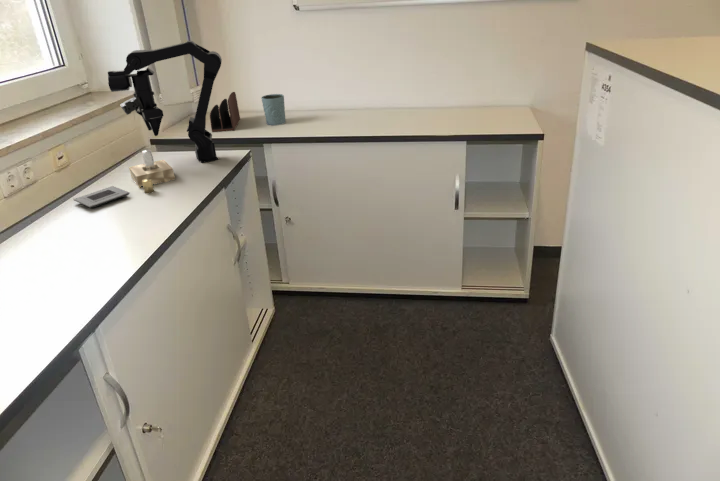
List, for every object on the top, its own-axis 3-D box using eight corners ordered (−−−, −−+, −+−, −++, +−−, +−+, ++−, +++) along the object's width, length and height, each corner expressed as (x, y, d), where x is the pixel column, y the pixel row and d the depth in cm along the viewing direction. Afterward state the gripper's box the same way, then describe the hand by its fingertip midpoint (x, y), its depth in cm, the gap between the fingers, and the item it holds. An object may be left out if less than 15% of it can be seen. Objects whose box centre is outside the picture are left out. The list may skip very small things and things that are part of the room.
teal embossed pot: (277, 126, 240) (273, 99, 234) (260, 124, 244) (256, 97, 239) (291, 121, 247) (288, 94, 242) (274, 119, 252) (271, 93, 247)
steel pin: (156, 176, 189) (149, 149, 184) (158, 178, 186) (152, 151, 182) (147, 178, 187) (140, 150, 183) (149, 180, 185) (142, 152, 181)
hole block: (166, 170, 194) (163, 159, 192) (175, 179, 185) (172, 168, 183) (131, 177, 189) (128, 167, 187) (139, 187, 180) (136, 176, 178)
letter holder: (240, 119, 255) (235, 89, 249) (234, 131, 237) (229, 98, 231) (219, 121, 255) (214, 90, 248) (211, 132, 237) (205, 100, 231)
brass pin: (153, 189, 178) (150, 177, 176) (155, 192, 176) (152, 180, 174) (143, 191, 176) (140, 180, 175) (145, 194, 174) (142, 182, 172)
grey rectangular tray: (114, 191, 179) (112, 184, 178) (131, 198, 173) (129, 191, 172) (75, 205, 170) (73, 198, 169) (91, 212, 164) (89, 205, 163)
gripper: (113, 88, 191) (124, 131, 198) (124, 97, 177) (135, 143, 184) (146, 83, 196) (155, 126, 203) (158, 91, 182) (168, 136, 189)
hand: (153, 132), depth 195 cm, fingers open, 9 cm apart
